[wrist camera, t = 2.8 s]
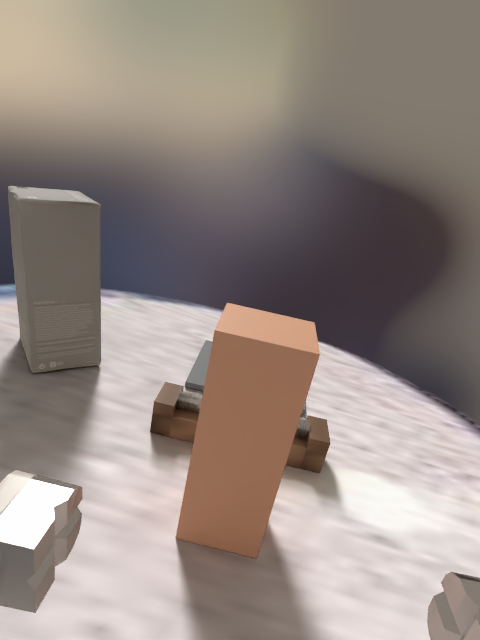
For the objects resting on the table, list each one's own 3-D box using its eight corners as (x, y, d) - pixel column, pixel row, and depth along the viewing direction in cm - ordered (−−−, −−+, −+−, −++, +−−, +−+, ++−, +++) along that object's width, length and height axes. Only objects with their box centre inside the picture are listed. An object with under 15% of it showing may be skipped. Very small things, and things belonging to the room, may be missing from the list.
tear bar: (150, 432, 31) (154, 397, 30) (161, 410, 34) (166, 378, 33) (319, 472, 31) (331, 439, 30) (317, 447, 34) (327, 416, 32)
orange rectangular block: (175, 538, 23) (214, 330, 18) (191, 487, 27) (227, 302, 22) (256, 558, 23) (319, 354, 18) (260, 504, 27) (314, 322, 22)
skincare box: (101, 367, 39) (113, 205, 33) (20, 377, 35) (15, 195, 29) (82, 330, 45) (88, 189, 39) (10, 335, 41) (5, 178, 35)
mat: (184, 386, 38) (185, 381, 38) (205, 344, 48) (205, 340, 47) (303, 414, 38) (305, 409, 38) (300, 366, 47) (302, 362, 47)
